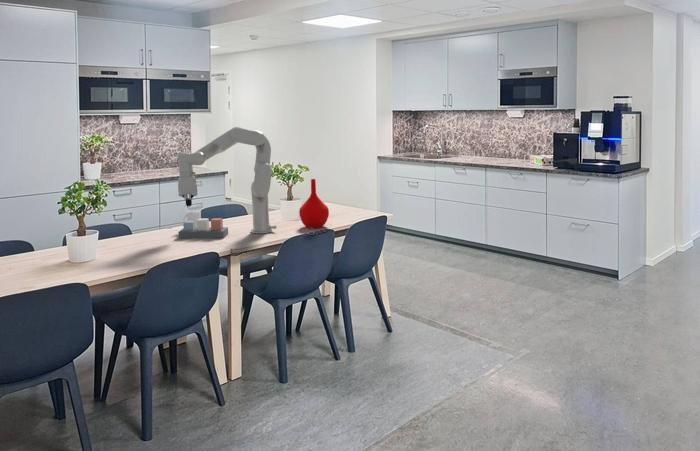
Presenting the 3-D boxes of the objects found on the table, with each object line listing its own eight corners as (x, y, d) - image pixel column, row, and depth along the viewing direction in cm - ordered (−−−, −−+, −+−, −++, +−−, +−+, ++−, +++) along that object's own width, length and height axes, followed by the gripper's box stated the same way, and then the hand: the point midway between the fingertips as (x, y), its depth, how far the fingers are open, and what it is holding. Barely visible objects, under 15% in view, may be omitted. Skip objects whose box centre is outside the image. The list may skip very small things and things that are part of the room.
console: (228, 233, 361) (227, 227, 361) (223, 238, 350) (223, 231, 349) (184, 234, 362) (184, 227, 361) (178, 238, 350) (178, 231, 349)
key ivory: (209, 229, 358) (208, 218, 356) (207, 231, 352) (206, 220, 351) (200, 229, 358) (199, 218, 357) (197, 231, 352) (196, 220, 351)
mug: (187, 233, 365) (185, 213, 362) (180, 231, 371) (179, 212, 369) (204, 230, 372) (203, 211, 370) (197, 228, 379) (196, 209, 376)
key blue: (196, 231, 358) (195, 220, 357) (193, 233, 353) (192, 222, 351) (186, 231, 358) (185, 220, 357) (183, 233, 353) (183, 222, 351)
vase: (328, 229, 369) (327, 180, 364) (298, 229, 370) (296, 181, 364) (329, 224, 387) (328, 177, 382) (301, 224, 388) (299, 177, 382)
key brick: (223, 229, 358) (222, 218, 356) (220, 230, 352) (220, 219, 351) (213, 229, 358) (212, 218, 356) (211, 231, 352) (210, 220, 351)
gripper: (200, 173, 353) (203, 204, 356) (175, 174, 353) (178, 205, 356) (197, 174, 345) (200, 206, 349) (171, 175, 346) (174, 207, 349)
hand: (189, 206), depth 353 cm, fingers closed
